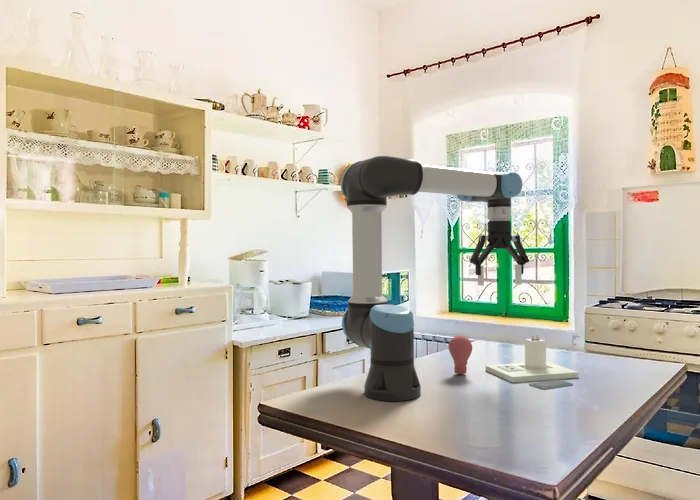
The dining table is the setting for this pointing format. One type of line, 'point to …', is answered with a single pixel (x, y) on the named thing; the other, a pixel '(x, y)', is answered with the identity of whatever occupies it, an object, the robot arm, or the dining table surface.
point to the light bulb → (460, 353)
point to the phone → (550, 384)
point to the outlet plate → (531, 372)
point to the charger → (535, 353)
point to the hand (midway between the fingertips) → (499, 284)
